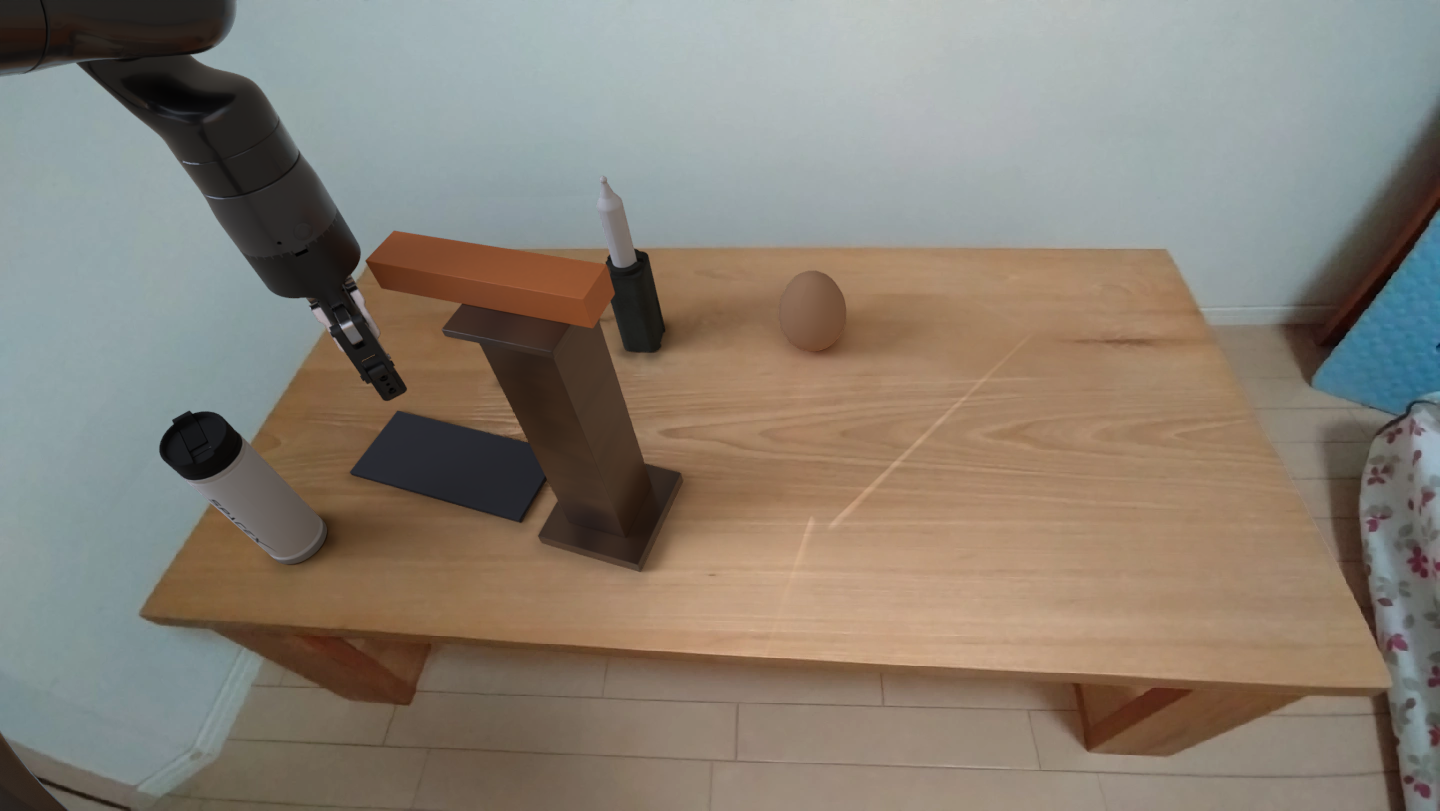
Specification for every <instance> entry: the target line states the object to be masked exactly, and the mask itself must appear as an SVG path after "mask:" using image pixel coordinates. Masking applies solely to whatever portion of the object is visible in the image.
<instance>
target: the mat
mask: <svg viewBox="0 0 1440 811" xmlns="http://www.w3.org/2000/svg"><path fill="white" fill-rule="evenodd" d="M349 474H350V475H351V476H354V477H358V478H361V479H365V480H369V481H371V482H375V483H379V484H382V485H386V486H389V487H393V488H396V489H399V490H403V491H406V492H410V493H414V494H418V495H421V496H425V497H427V498H432V499H435V500H439V501H442V502H445V503H449V504H453V505H456V506H458V507H459V506H460V507H462V508H466V509H470V510H473V511H477V512H481V513H483V514H484V513H485V514H488V515H491V516H494V517H498V518H501V519H506V520H509V521H513V522H516V523H519V524H521V523H522V521H523V520H524V518H525V516H526V515H527V513H528V511H529V510H530V508H531V506H533V503H534V501H535V499H536V498H537V496H538V494H539V493H540V491H541V490H542V488H543V486H544V484H545V483H546V481H547V478H546V476H545V474H544V472H543V470H542V468H541V466H540V464H539V462H538V460H537V458H536V456H535V454H534V452H533V450H532V448H531V446H530V444H529V442H528V441H523V440H518V439H514V438H510V437H506V436H503V435H499V434H495V433H490V432H487V431H482V430H478V429H474V428H471V427H465V426H462V425H458V424H454V423H450V422H446V421H443V420H438V419H433V418H429V417H426V416H421V415H418V414H413V413H410V412H405V411H401V410H397V411H395V413H394V415H393V416H392V417H391V418H390V419H389V421H388V422H387V423H386V424H385V426H384V427H383V429H382V430H381V431H380V432H379V434H378V435H377V436H376V437H375V439H374V440H373V441H372V443H371V444H370V445H369V447H368V448H367V449H366V450H365V451H364V453H363V454H362V455H361V457H360V458H359V459H358V461H357V462H356V463H355V464H354V466H353V467H352V468H351V470H349Z"/></svg>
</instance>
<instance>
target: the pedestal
mask: <svg viewBox="0 0 1440 811" xmlns="http://www.w3.org/2000/svg"><path fill="white" fill-rule="evenodd" d="M607 268H608V271H609V274H611V272H610V268H609V266H607ZM603 331H604V330H603V328H602V325H601V322H600V319H599V320H598V321H597V323H596V324H595V326H594V328H588V327H583V326H578V325H572V324H567V323H562V322H556V321H551V320H546V319H540V318H535V317H530V316H525V315H519V314H514V313H509V312H503V311H498V310H493V309H488V308H482V307H477V306H472V305H466V304H461V303H460V305H459V306H458V308H457V309H456V310H455V312H454V313H453V314H452V315H451V316H450V318H449V319H448V320H447V322H446V323H445V324H444V325H443V326H442V328H441V332H442V333H443V335H444V337H446V338H451V339H457V340H461V341H466V342H470V343H475V344H479V346H480V347H481V350H482V352H483V354H484V356H485V358H486V360H487V362H488V364H489V366H490V368H491V371H492V372H493V375H494V376H495V377H496V380H497V382H498V384H499V386H500V388H501V390H502V392H503V394H504V396H505V398H506V400H507V402H508V404H509V406H510V408H511V410H512V412H513V414H514V416H515V418H516V420H517V422H518V425H519V426H520V428H521V430H522V432H523V434H524V436H525V438H526V440H527V443H529V444H530V446H531V448H532V450H533V452H534V454H535V456H536V458H537V460H538V462H539V464H540V466H541V468H542V470H543V472H544V474H545V476H546V478H547V479H546V481H547V482H548V484H549V486H550V488H551V490H552V492H553V494H554V496H555V498H556V502H555V504H554V506H553V508H552V510H551V512H550V513H549V515H548V516H547V518H546V520H545V522H544V524H543V526H542V527H541V529H540V531H539V533H538V534H537V538H538V539H539V541H540V543H541V544H543V545H546V546H550V547H553V548H557V549H560V550H563V551H567V552H571V553H574V554H577V555H579V556H583V557H587V558H591V559H595V560H598V561H601V562H605V563H607V564H612V565H615V566H618V567H622V568H626V569H629V570H632V571H636V572H639V573H641V572H642V571H643V568H644V566H645V564H646V562H647V559H648V557H649V555H650V553H651V550H652V549H653V547H654V544H655V542H656V540H657V538H658V536H659V533H660V531H661V529H662V527H663V524H664V523H665V521H666V518H667V516H668V514H669V511H670V510H671V508H672V505H673V503H674V501H675V499H676V497H677V495H678V492H679V491H680V488H681V486H682V484H683V482H684V479H683V476H682V472H680V471H677V470H672V469H668V468H664V467H660V466H656V465H652V464H648V463H645V460H644V457H643V453H642V450H641V446H640V443H639V441H638V438H637V434H636V432H635V428H634V425H633V422H632V419H631V416H630V413H629V410H628V407H627V404H626V400H625V397H624V393H623V391H622V388H621V384H620V381H619V378H618V375H617V372H616V369H615V365H614V363H613V359H612V357H611V353H610V350H609V347H608V343H607V340H606V337H605V334H604V332H603Z"/></svg>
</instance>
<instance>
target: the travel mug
mask: <svg viewBox="0 0 1440 811" xmlns="http://www.w3.org/2000/svg"><path fill="white" fill-rule="evenodd" d="M171 421H172V425H170V426H169V428H168V429H167V430H166V431H165V432H164V433H163V435H162V437H161V439H160V441H159V446H158V452H159V456H160V458H161V459H162V461H163V462H165V464H167V465H168V466H169V467H170V468H171V469H173V470H174V471H175V472H176V473H177V475H179V476H180V477H181V478H182V479H183V480H184V481H185V482H186V483H187V484H188V485H190V486H191V487H192V488H193V489H194V490H195V491H196V492H198V493H199V494H200V496H202V497H203V498H204V499H205V500H206V501H207V502H209V503H210V504H211V505H212V506H213V507H215V508H216V509H217V510H218V511H219V512H220V513H221V514H223V515H224V516H225V517H226V518H227V519H228V520H229V521H230V522H232V523H233V524H234V525H235V526H236V527H237V528H238V529H240V531H242V532H243V533H244V534H245V535H246V536H247V537H248V538H250V539H251V540H252V541H253V542H254V543H255V544H257V545H258V546H259V547H260V548H261V549H262V550H263V551H265V552H266V553H267V554H268V555H269V556H270V557H271V558H272V559H273V560H275V561H276V562H277V563H279V564H282V565H295V564H299V563H302V562H305V561H306V560H308V559H309V558H311V557H312V556H313V555H315V554H316V553H317V552H318V551H319V550H320V549H321V548H322V547H323V545H324V543H325V540H326V537H327V533H328V528H327V524H326V522H325V521H324V520H323V519H322V518H321V517H320V515H318V514H317V513H316V512H315V511H314V509H313V508H312V507H311V506H310V504H308V503H307V502H306V501H305V500H304V499H303V498H302V497H301V496H300V494H298V493H297V492H296V491H295V490H294V488H293V487H291V485H289V483H288V482H287V481H286V480H285V478H283V477H282V475H280V474H279V473H278V472H277V471H276V470H275V469H274V468H273V467H272V466H271V465H270V464H269V463H268V461H267V460H266V459H264V457H263V456H262V455H261V454H260V453H259V452H258V451H257V450H256V449H255V448H254V447H253V446H252V445H251V444H250V442H248V441H247V440H246V439H245V438H244V437H243V436H242V435H241V433H239V432H238V431H237V430H235V428H234V427H233V426H232V425H231V424H230V423H229V422H228V421H227V420H226V418H224V416H222V415H221V414H220V413H217V412H215V411H209V410H208V411H207V410H205V411H204V410H203V411H196V412H192V411H191V410H186V411H185V412H183V413H182V414H180V415H178V416H176V417H174V418H172V419H171Z"/></svg>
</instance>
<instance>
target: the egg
mask: <svg viewBox="0 0 1440 811" xmlns="http://www.w3.org/2000/svg"><path fill="white" fill-rule="evenodd" d="M778 322H779V326H780V329H781V331H782V334H783V335H784V337H785V338H786V339H787V341H788V342H789V343H790V344H792V345H793V346H794V347H796V348H797V349H799V350H802V351H806V352H819V351H823V350H825V349H828V348H829V347H831V346H832V345H833V344H834V343H835V342H837V340H838V339H839V338H840V336H841V334H842V333H843V331H844V330H845V327H846V322H847V305H846V299H845V297H844V294H843V292H842V291H841V289H840V287H839V285H838V284H837V282H836V281H835V280H834V279H833V278H832V277H831V276H829V275H828V274H827V273H825V272H822V271H819V270H806V271H802V272H800V273H798V274H797V275H795V276H794V277H793V278H792V279H791V280H790V281H789V283H788V284H786V287H785V288H784V290H783V292H782V294H781V296H780V300H779V304H778Z"/></svg>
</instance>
